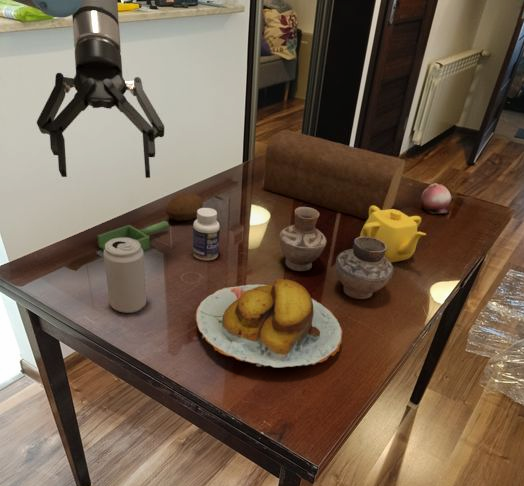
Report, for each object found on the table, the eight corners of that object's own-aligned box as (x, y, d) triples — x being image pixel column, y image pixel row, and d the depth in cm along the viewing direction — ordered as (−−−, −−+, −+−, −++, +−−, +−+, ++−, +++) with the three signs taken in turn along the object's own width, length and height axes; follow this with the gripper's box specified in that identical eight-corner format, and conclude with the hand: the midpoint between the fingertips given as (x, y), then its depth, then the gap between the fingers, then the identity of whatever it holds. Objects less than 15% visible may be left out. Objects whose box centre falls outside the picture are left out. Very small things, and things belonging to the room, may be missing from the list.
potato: (209, 217, 116) (210, 192, 112) (182, 230, 110) (182, 204, 106) (188, 208, 119) (188, 183, 115) (161, 221, 112) (160, 195, 108)
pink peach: (427, 202, 137) (435, 177, 133) (451, 212, 133) (461, 186, 129) (412, 208, 132) (421, 183, 128) (437, 219, 129) (447, 193, 124)
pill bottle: (208, 264, 100) (210, 220, 94) (187, 255, 102) (187, 212, 95) (223, 254, 104) (225, 211, 97) (202, 246, 105) (203, 203, 99)
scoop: (119, 260, 98) (118, 248, 96) (98, 246, 101) (97, 235, 99) (178, 236, 108) (178, 226, 106) (157, 225, 111) (157, 214, 109)
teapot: (419, 249, 114) (433, 208, 108) (412, 275, 105) (427, 231, 98) (362, 235, 117) (373, 194, 111) (351, 258, 108) (361, 215, 101)
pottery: (292, 247, 109) (300, 196, 101) (394, 291, 99) (411, 238, 92) (263, 266, 102) (270, 212, 94) (370, 315, 92) (386, 260, 84)
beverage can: (127, 290, 90) (121, 231, 82) (154, 303, 88) (150, 244, 80) (102, 306, 86) (93, 245, 78) (129, 320, 84) (123, 259, 76)
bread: (281, 174, 142) (288, 123, 133) (393, 206, 132) (409, 153, 123) (260, 189, 132) (265, 135, 123) (379, 225, 122) (395, 169, 113)
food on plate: (171, 311, 87) (170, 279, 82) (283, 279, 98) (287, 251, 94) (247, 402, 71) (250, 370, 67) (368, 352, 83) (378, 322, 79)
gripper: (171, 70, 88) (180, 183, 87) (24, 61, 83) (31, 182, 82) (173, 41, 81) (182, 165, 80) (11, 30, 76) (19, 162, 74)
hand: (106, 174), depth 81 cm, fingers open, 13 cm apart
